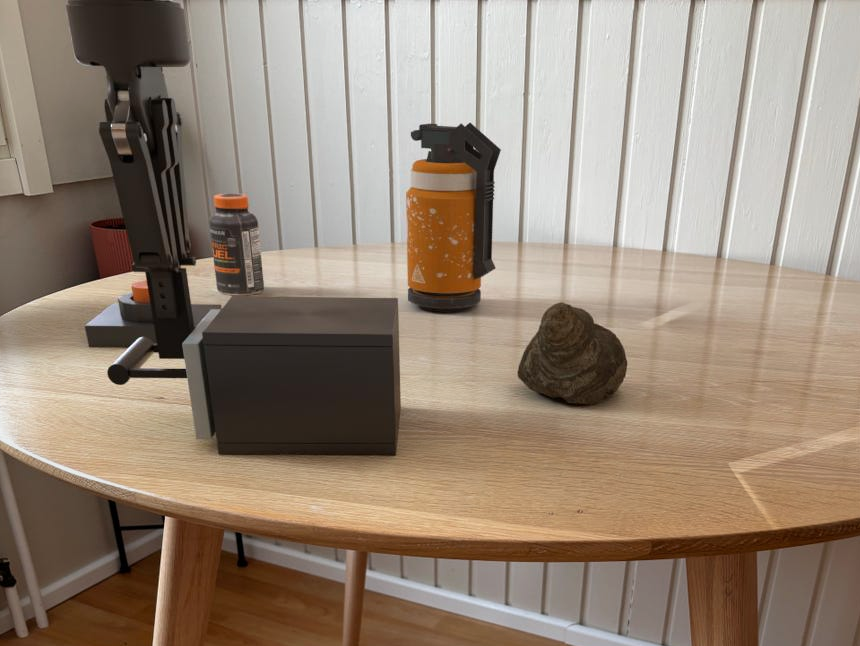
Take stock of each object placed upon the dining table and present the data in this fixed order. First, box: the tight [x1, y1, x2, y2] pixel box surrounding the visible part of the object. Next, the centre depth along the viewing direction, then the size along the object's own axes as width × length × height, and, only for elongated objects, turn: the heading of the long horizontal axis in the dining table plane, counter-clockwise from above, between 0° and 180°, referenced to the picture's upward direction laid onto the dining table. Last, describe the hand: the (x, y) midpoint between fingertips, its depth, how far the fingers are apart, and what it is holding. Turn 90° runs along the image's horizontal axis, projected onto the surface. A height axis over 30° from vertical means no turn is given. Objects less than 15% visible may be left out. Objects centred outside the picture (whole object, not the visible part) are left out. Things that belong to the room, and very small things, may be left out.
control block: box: [84, 292, 223, 349], centre depth 101 cm, size 12×10×4 cm
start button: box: [130, 280, 150, 302], centre depth 99 cm, size 4×4×2 cm
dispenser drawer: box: [106, 309, 221, 441], centre depth 75 cm, size 19×11×7 cm, turn 92°
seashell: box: [517, 302, 628, 406], centre depth 85 cm, size 11×12×10 cm
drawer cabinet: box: [202, 295, 402, 456], centre depth 76 cm, size 14×12×9 cm
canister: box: [405, 122, 502, 313], centre depth 110 cm, size 9×11×20 cm
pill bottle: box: [208, 193, 265, 296], centre depth 117 cm, size 6×6×11 cm
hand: (178, 355), depth 74 cm, fingers closed
